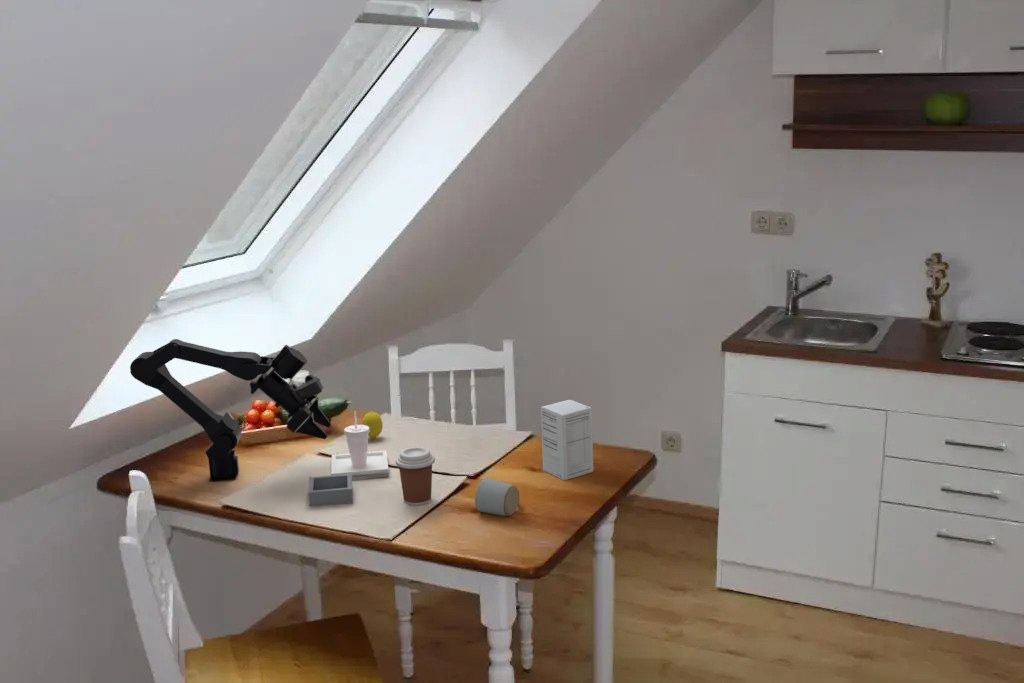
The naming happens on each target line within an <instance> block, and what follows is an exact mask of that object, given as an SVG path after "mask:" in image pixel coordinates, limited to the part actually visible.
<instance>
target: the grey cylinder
mask: <svg viewBox="0 0 1024 683" xmlns="http://www.w3.org/2000/svg"><path fill="white" fill-rule="evenodd" d="M519 505H520V492H519V488H518V487H517V486H516V485H514V484H512V483H508V482H503V481H500V480H497V479H493V478H489V477H485V478H482V479H481V480H480V482H479V483H478V485H477V486H476V490H475V496H474V506H475V508H476V511H479V512H482V513H486V514H487V513H488V514H493V515H498V516H501V517H502V516H503V517H511V516H513V514H514V513H515V512H516V511H517V509H518V506H519Z"/></svg>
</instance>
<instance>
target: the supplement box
mask: <svg viewBox="0 0 1024 683" xmlns="http://www.w3.org/2000/svg"><path fill="white" fill-rule="evenodd" d="M540 419H541V447H542V448H541V449H542V451H541V452H542V471H543V472H546V473H548V474H550V475H552V476H554V477H556V478H559V479H561V480H562V481H567V480H570V479H574V478H577V477H580V476H584V475H586V474H590V473H593V472H594V447H593V446H594V443H593V442H594V440H593V408H592V407H591V406H588V405H585V404H583V403H580V402H578V401H576V400H573V399H567V400H563V401H559V402H554V403H551V404H547V405H543V406H541V407H540Z"/></svg>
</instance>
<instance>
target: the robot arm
mask: <svg viewBox="0 0 1024 683" xmlns="http://www.w3.org/2000/svg"><path fill="white" fill-rule="evenodd" d="M174 359H178V360H183V361H187V362H191V363H194V364H200V365H204V366H208V367H212V368H216V369H221V370H224V371H225V372H227V373H228V374H231V376H233V377H236V378H238V379H240V380H243V381H246V382H247V381H250V382H249V386H250V394H251V395H254V394H255V393H256V392H257V391H258V390H259V391H260V392H261V393H263V394H264V395H266V396H267V397H268V398H269V399H270V400H272V402H274V407H276V408H277V409H278V408H279V407H280V408H281V409H282V410H283V411H285V412H286V413H287V417H288V420H287V422H286V429H288V431H290V432H291V433H292V434H294V433H296V434H304V435H308V436H311V437H315V438H318V439H322V440H326V439H327V438H328V435H327V433H326V432H325V431H324V430H323V428H322V427H321V426H324V427H326V428H330V427H331V426H332V423H331V422H330V420H329V419H328V417H327V416H326V414H325V413H324V412H323V410H322V409H321V407H320V404H319V401H320V400H319V399H320V398H319V396H318V395H319V394H320V393H322V391H323V389H324V386H323V384H322V383H321V379H320V378H318V376H314V375H313V374H311V373H310V374H308V375H306V376H305V378H304V382H303V383H301V384H299V386H298V385H297V384H295V383H291V384H290V383H289V382H288V381H286V380H288V379H290V380H292V379H293V378H294V377H296V375H297V374H298V373H299V372H300V371H301V370H302V369H303V368H304V366H306V365H307V363H308V360H307V358H306V357H305V355H304V354H303V353H302V352H300V351H299V350H296V349H295V348H293V347H290V346H289V345H288V344H284V346H283V347H282V348H281V350H280V351H279V353H278V354H276V356H275V357H273V356H262V355H260V354H259V353H256V352H252V351H224V350H221V349H217V348H213V347H209V346H205V345H199V344H195V343H191V342H187V341H183V340H181V339H178V338H174V339H171V340H170V341H168V343H166V344H164V345H161V346H159V347H158V348H156V349H155V350H152V351H145V352H142V353H140V354H139V355H138V356H137V357H136V358H135V359H134V360H132V361H131V363H130V367H129V371H130V375H131V376H132V377H133V379H135V380H137V381H139V382H140V383H142V384H143V385H145V386H147V387H149V388H153V389H155V390H158V391H159V392H160V393H162V394H163V395H164V396H165V397H166V398H168V400H170V401H171V402H172V403H173V404H174V405H176V407H178V408H179V409H180V410H182V411H183V412H184V413H185V415H187V416H189V417H190V419H192V420H193V421H194V422H195V423H197V424H198V425H199V426H200V427H202V429H203V431H204V432H205V434H206V436H207V437H208V440H209V441H211V443H210V444H209V446H208V448H207V449H206V450H205V455H206V456H207V459H208V467H209V479H208V481H209V482H222V481H234V480H237V476H238V475H239V472H240V465H239V456H238V455H236V450H235V448H236V446H237V445H238V443H239V441H240V439H241V438H242V435H243V434H242V428H241V426H240V425H239V421H238V420H236V419H234V418H233V417H232V416H231V415H230V413H228V412H225V413H224V415H222V414H218V413H216V412H214V411H213V410H212V409H211V408H209V407H208V406H207V405H206V404H205V403H204V402H202V401H201V400H200V399H199V398H198V397H196V396H195V395H194V393H192V392H191V391H190V390H189V389H187V388H186V386H184V385H183V384H181V383H180V382H179V381H178V380H177V379H176V378H175V377H174V376H173V375H172V374H171V372H170V371H169V368H168V367H167V365H166V364H167V363H169V362H171V361H172V360H174ZM258 376H259V377H258ZM257 377H258V378H257ZM256 378H257V379H256ZM255 379H256V380H255ZM320 425H321V426H320Z"/></svg>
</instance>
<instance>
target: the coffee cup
mask: <svg viewBox="0 0 1024 683" xmlns="http://www.w3.org/2000/svg"><path fill="white" fill-rule="evenodd" d="M435 461H436V457H435V456H434V455H433V453H431V450H430V449H428V448H426V447H422V446H413V447H407V448H405V449H402V450H401V451H400V452H399V454H398V456H397V457H396V459H395V465H396V466H397V467H398V471H399V476H400V482H401V483H400V484H401V490H402V496H403V497H402V498H403V503H404V504H405V505H408V506H412V505H413V507H414V506H415V507H416V506H418V507H419V506H424V505H427V504H429V503H431V502H432V488H433V487H432V486H433V483H432V482H433V464H435Z"/></svg>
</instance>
